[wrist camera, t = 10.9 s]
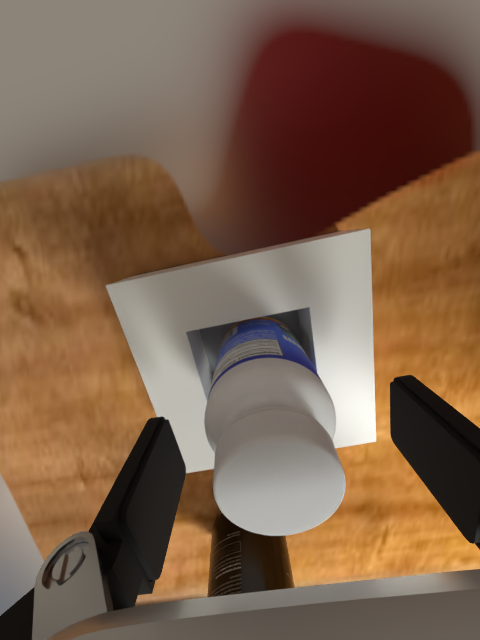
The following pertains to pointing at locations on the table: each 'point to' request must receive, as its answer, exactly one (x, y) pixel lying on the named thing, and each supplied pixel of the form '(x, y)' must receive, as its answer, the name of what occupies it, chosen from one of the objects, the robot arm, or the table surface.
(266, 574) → the supplement bottle
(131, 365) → the table surface
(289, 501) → the pill bottle
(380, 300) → the table surface
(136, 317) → the housing
